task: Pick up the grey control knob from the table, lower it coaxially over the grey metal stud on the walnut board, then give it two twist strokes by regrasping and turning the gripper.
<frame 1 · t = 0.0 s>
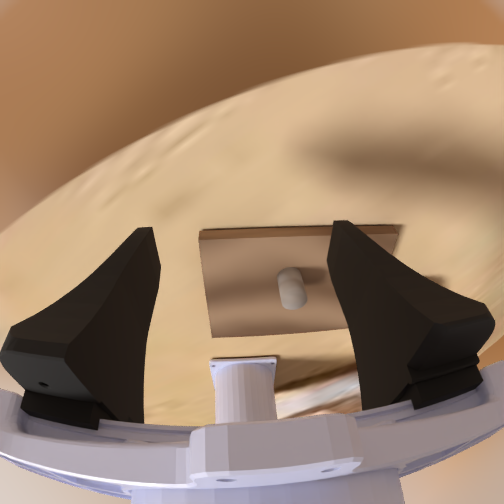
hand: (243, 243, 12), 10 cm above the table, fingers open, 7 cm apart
stud board: (296, 283, 28), on the table
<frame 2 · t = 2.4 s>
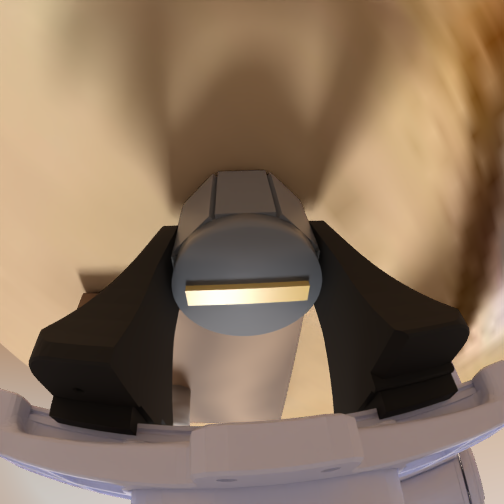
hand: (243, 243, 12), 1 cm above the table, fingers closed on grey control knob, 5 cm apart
stud board: (203, 370, 21), on the table
grey control knob: (242, 224, 13), on the table, touching gripper
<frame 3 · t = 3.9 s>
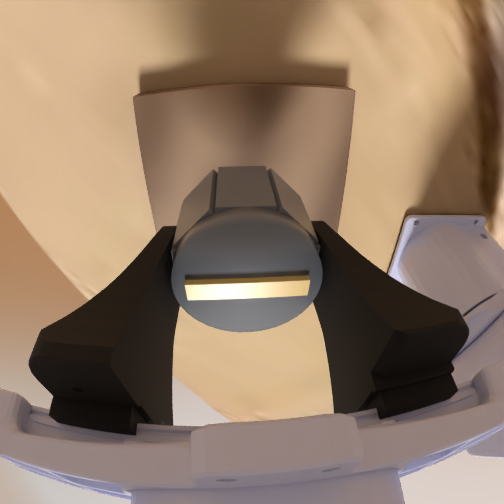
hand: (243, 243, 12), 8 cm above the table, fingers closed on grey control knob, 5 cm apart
stud board: (247, 206, 20), on the table
grey control knob: (242, 220, 13), point 6 cm above the table, touching gripper
when the fingers open (3 cm above the table, at t = 5.7 s): grey control knob stays where it is, resting on stud board.
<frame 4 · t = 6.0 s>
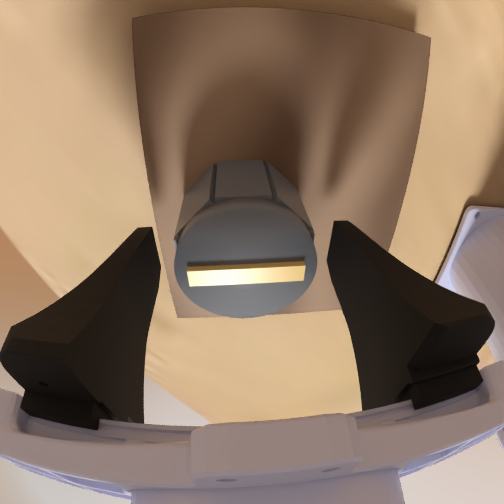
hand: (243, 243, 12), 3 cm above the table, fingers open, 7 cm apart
stud board: (282, 182, 14), on the table
grey control knob: (241, 212, 14), point 1 cm above the table, touching stud board
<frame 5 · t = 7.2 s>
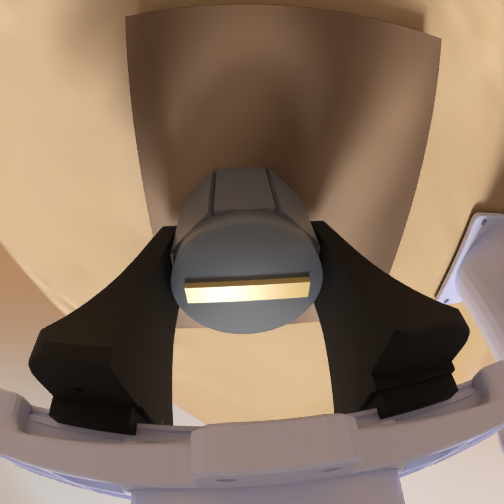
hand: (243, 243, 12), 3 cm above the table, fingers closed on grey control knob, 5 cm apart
stud board: (285, 189, 14), on the table
grey control knob: (242, 221, 13), point 1 cm above the table, touching gripper, stud board
when the fingers open (3 cm above the table, at t = 8.6 s): grey control knob stays where it is, resting on stud board.
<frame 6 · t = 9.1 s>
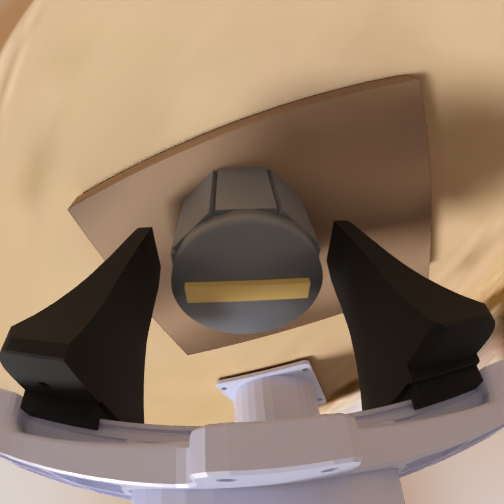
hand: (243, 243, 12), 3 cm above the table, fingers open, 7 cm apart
stud board: (275, 235, 15), on the table
grey control knob: (242, 221, 13), point 1 cm above the table, touching stud board
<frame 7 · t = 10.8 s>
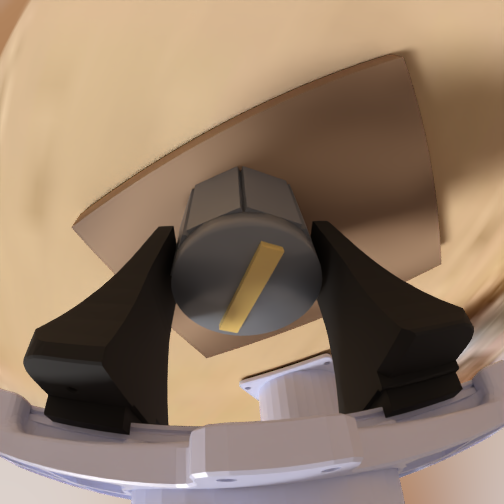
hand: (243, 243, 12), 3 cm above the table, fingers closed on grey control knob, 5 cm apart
stud board: (278, 232, 15), on the table
grey control knob: (242, 223, 13), point 1 cm above the table, touching gripper
when the fingers open (3 cm above the table, at t = 11.4 s): grey control knob stays where it is, resting on stud board.
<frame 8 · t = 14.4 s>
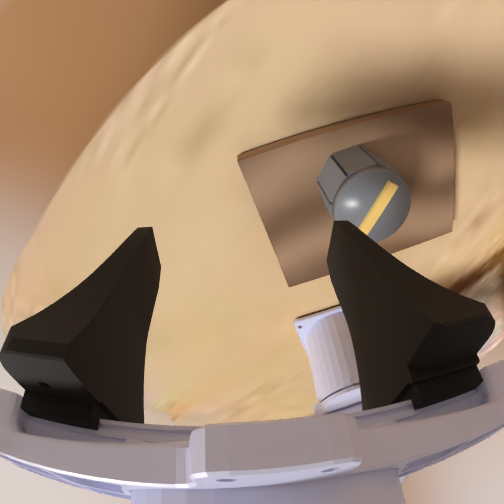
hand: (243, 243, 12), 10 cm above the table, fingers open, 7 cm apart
stud board: (364, 192, 22), on the table
grey control knob: (353, 180, 20), point 1 cm above the table, touching stud board
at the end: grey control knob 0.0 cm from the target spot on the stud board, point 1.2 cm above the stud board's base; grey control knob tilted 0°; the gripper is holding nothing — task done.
